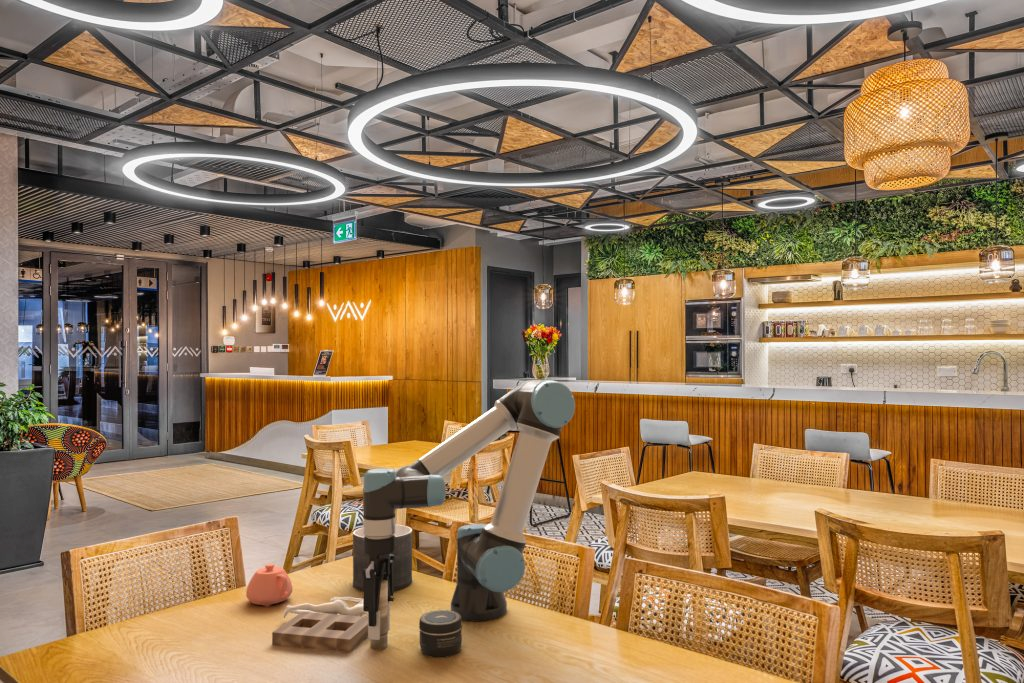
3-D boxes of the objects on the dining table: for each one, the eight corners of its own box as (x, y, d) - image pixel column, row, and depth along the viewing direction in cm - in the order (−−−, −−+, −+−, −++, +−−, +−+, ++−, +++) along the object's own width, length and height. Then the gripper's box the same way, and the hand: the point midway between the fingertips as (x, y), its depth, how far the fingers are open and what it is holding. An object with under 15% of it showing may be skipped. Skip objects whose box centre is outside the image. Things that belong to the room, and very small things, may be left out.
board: (375, 629, 174) (375, 617, 174) (349, 652, 160) (350, 639, 160) (302, 623, 178) (302, 611, 178) (272, 645, 165) (272, 632, 165)
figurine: (284, 630, 180) (382, 626, 182) (280, 623, 175) (380, 619, 178) (288, 601, 184) (383, 597, 187) (284, 593, 180) (382, 590, 182)
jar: (414, 645, 164) (414, 613, 165) (454, 638, 168) (454, 607, 168) (426, 662, 155) (426, 627, 155) (468, 654, 159) (468, 621, 159)
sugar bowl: (274, 591, 204) (275, 556, 204) (305, 600, 196) (305, 564, 196) (237, 603, 194) (237, 566, 194) (267, 613, 186) (267, 575, 186)
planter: (343, 591, 204) (343, 537, 204) (365, 573, 221) (365, 523, 222) (401, 594, 201) (401, 539, 201) (419, 575, 218) (419, 525, 219)
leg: (390, 643, 166) (390, 579, 166) (383, 650, 162) (383, 585, 162) (374, 641, 167) (374, 578, 167) (367, 648, 162) (367, 584, 163)
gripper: (379, 525, 174) (379, 619, 174) (347, 543, 157) (347, 648, 156) (408, 527, 173) (407, 621, 172) (378, 545, 155) (378, 651, 155)
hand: (379, 634), depth 164 cm, fingers open, 5 cm apart
